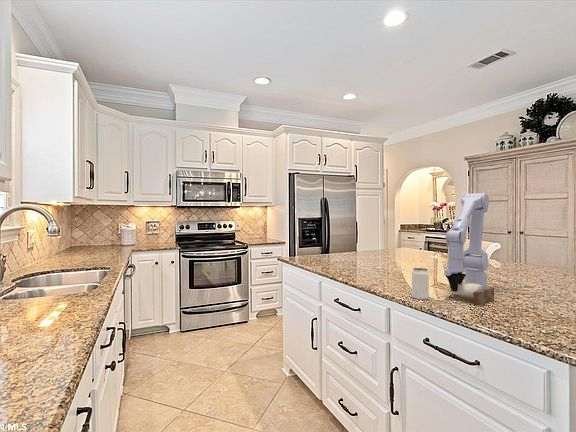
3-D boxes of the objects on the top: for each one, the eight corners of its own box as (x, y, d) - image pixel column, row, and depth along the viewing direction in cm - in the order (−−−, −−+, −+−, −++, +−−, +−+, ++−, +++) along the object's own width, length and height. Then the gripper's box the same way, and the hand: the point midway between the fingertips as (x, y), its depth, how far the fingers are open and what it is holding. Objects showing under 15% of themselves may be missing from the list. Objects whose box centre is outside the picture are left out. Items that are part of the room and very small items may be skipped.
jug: (485, 300, 132) (485, 284, 132) (477, 303, 129) (478, 286, 128) (456, 295, 141) (456, 280, 141) (449, 297, 138) (449, 281, 138)
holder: (469, 295, 141) (469, 283, 141) (494, 300, 133) (494, 287, 133) (452, 300, 132) (452, 288, 132) (477, 305, 125) (477, 292, 125)
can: (430, 300, 133) (430, 270, 132) (413, 299, 134) (413, 270, 134) (426, 296, 139) (426, 268, 139) (410, 295, 140) (410, 267, 140)
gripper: (456, 261, 131) (456, 295, 131) (473, 258, 139) (473, 290, 140) (439, 259, 137) (439, 291, 137) (457, 256, 145) (457, 287, 145)
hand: (455, 290), depth 139 cm, fingers closed
